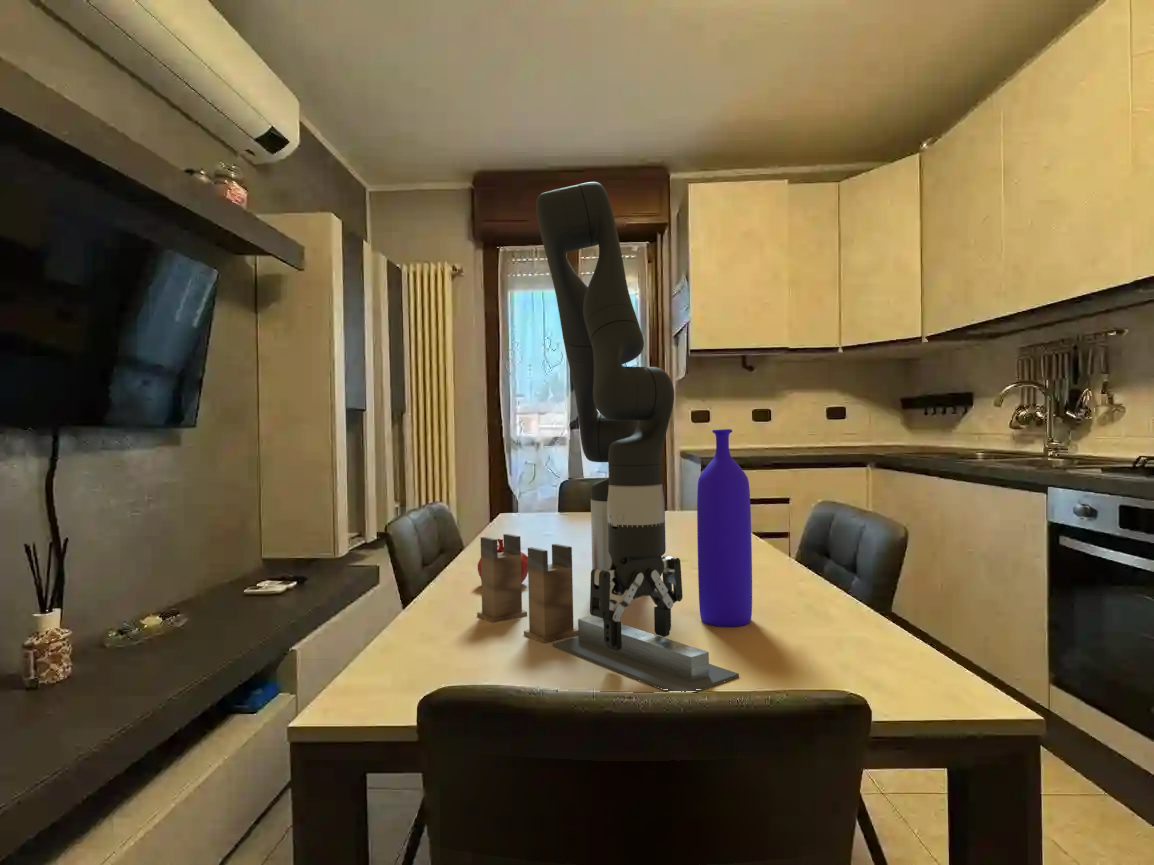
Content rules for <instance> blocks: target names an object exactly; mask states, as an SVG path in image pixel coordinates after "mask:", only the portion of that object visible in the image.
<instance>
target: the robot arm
mask: <svg viewBox="0 0 1154 865" xmlns="http://www.w3.org/2000/svg"><path fill="white" fill-rule="evenodd" d="M535 206H536V207H535V212H536V219H537V225H538V228H539V234H540V236H541V242H542V245H543V248H544V252H545V256H546V260H547V263H548V267H549V272H550V275H551V276H550V277H551V280H552V283H553V287H554V292H555V297H556V303H557V308H558V310H557V311H558V314H559V321H560V329H561V333H562V334H561V335H562V340H563V344H564V351H565V356H566V359H567V362H568V363H567V364H568V366H569V371H570V375H571V381H572V384H573V389H574V395H575V402H576V409H577V419H578V426H579V427H578V428H579V429H578V430H579V435H580V441H581V447H582V452H583V454H584V456H585V458H586V459H587V460H588V461H590V462H592V463H593V462H594V463H608V477H607V478H605V479H603V480H600V481H596V482H595V483H593V484H592V485H591V486H590V519H591V520H590V521H591V522H590V524H591V527H590V528H591V532H590V533H591V572H590V589H589V590H590V591H589V594H590V595H589V613H590V615H591V616H596V617H599V618H602V619H603V621H604V642H605V644H606V645H607V647H608V648H610V649H612V650H615V651H616V650H620V649H621V648H622V636H621V624H622V621H621V620H620V619H621V617H622V614H623V613H624V611H625V609H626V607H629V606H630V605H631V602H633V601H632V600H636V599H639V598H641V597H643V596H645V597H648V596H649V597H650V598H651V600H652V601H653V603H654V605H656V606H654V607H653V615H654V616H653V618H654V619H653V622H654V623H653V624H654V633H655V635H657V636H660V637H664V638H666V637H669V635H670V633H671V630H672V611H671V610H672V608H673V607H674V604H675V603H677V602H681V601H682V600H683V596H684V595H683V581H682V567H681V566H682V565H681V559H680V558H679V557H674V556H671V555H670V556H669V555H665V553H666V549H667V548H666V545H667V544H666V509H665V508H666V506H665V504H666V503H665V495H664V494H665V493H664V489H663V488H664V486H663V458H662V457H663V456H662V455H663V449H664V445H665V441H666V437H667V431H668V427H669V423H670V419H671V417H672V412H673V408H674V403H675V388H674V384H673V381H672V379H671V377H670V375H669V374H668V373H667V372H666V371H665V370H664V369H662V368H660V367H657V366H626V365H625V366H623V365H624V364H627V363H629V362H631V361H633V360H635V359H637V358H638V357H639V356H640V355H641V354H642V352H643V350H644V347H645V346H644V345H645V341H644V335H643V332H642V330H641V327H640V324H639V321H638V318H637V314H636V311H635V309H634V308H635V307H634V305H633V302H632V299H631V295H630V292H629V288H628V284H627V279H626V278H627V277H626V272H625V266H624V259H623V254H622V249H621V243H620V239H619V233H618V229H617V224H616V220H615V215H614V211H613V206H612V204H611V201H610V198H609V194H608V193H607V191H606V189H605V188H604V186H603V184H601V183H600V182H597V181H590V182H589V181H588V182H584V183H578V184H575V185H570V186H566V187H564V186H563V187H561V188H556V189H553V190H548V191H545V192H542V193H540V194H539V195H538V196H537V198H536V204H535ZM595 246H598V257H597V262H596V265H595V268H594V271H593V274H592V275H591V279H590V280H589V283H588V286H587V284H586V283H585V282H584V280H582V278H581V277H580V276H579V275H578V273H576V271H575V269H574V267H573V266H572V265H571V262H570V261H569V259H568V256H567V253H569V252H574V251H578V250H582V249H587V248H591V247H595ZM661 576H662V578H661Z"/></svg>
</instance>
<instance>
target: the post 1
mask: <svg viewBox="0 0 1154 865" xmlns="http://www.w3.org/2000/svg"><path fill="white" fill-rule="evenodd" d="M479 539H480V558H481V577H480V580H481V581H480V582H481V611H477V612H476V616H477V617H478V618H481V619H483V620H486V621H489V622H491V623H497V622H503V621H508V620H513V619H516V618H522V617H527V616H528V611H526V610H523V596H522V595H523V594H522V583H521V552H522V550H521V549H522V547H521V544H522V543H521V536H520V535H515V534H510V533H504V534H503V538H502V539H503V547H504V552H501V553H498V547H497V545H498V538H493V537H488V536H487V537H486V536H481V537H480V538H479Z"/></svg>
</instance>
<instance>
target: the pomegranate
mask: <svg viewBox="0 0 1154 865" xmlns="http://www.w3.org/2000/svg"><path fill="white" fill-rule="evenodd" d="M497 543H498V544H497V547H498V553H501V552H504V538H497ZM477 573H478V575H479V576H478V577H480V578H481V557H480V558H479V560H478V562H477ZM527 576H528V555H526V554H525V553H524V552H523V551H521V584H523V582H524V581H525V580H526V578H528V577H527Z"/></svg>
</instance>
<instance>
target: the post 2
mask: <svg viewBox="0 0 1154 865" xmlns="http://www.w3.org/2000/svg"><path fill="white" fill-rule="evenodd" d="M548 551H549V550H546V549H541V548H537V547H533V546H532V547H527V557H528V574H527V576H528V577H527V580H528V581H527V583H528V585H527V586H528V622H529V623H528V624H529V626H528V627H529V629H526V630H523V636H525V637H528V638H531V639H533V640H535V641H539V642H540V643H543V644H546V643H549V642H553V641H558V640H563V639H566V638H569V637H573V636H578V629H577V628H574V595H573V594H574V592H573V591H574V589H573V587H574V586H573V547H572V546H570V545H569V546H568V545H564V544H561V543H551V563H549V558H548V557H549V555H548V554H549V552H548Z"/></svg>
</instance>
